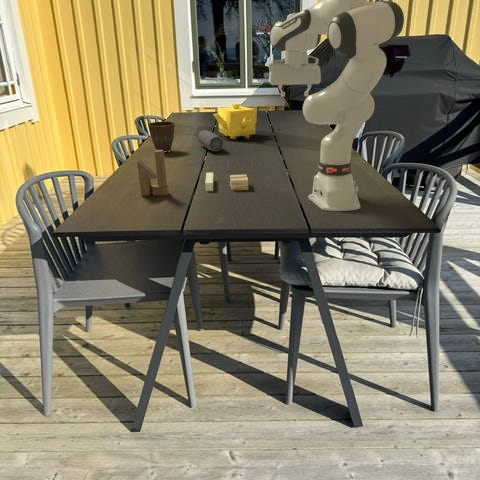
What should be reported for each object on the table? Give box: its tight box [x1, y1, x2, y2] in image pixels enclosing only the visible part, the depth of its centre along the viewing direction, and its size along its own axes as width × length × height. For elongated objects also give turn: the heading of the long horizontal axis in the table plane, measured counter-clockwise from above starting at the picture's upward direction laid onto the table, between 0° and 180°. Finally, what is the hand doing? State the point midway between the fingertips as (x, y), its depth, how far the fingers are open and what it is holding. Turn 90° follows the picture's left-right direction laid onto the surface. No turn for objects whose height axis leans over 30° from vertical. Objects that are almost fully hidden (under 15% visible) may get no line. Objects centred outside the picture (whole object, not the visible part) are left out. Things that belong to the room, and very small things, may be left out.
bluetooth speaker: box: [197, 129, 224, 152], centre depth 248 cm, size 23×9×10 cm, turn 22°
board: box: [204, 172, 214, 192], centre depth 184 cm, size 16×3×4 cm, turn 2°
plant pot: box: [147, 121, 175, 151], centre depth 245 cm, size 15×15×16 cm
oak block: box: [229, 174, 249, 191], centre depth 181 cm, size 8×7×4 cm
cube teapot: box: [212, 103, 258, 140], centre depth 278 cm, size 35×30×21 cm
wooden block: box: [137, 149, 170, 197], centre depth 171 cm, size 4×11×18 cm, turn 87°
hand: (294, 96), depth 174 cm, fingers open, 8 cm apart
